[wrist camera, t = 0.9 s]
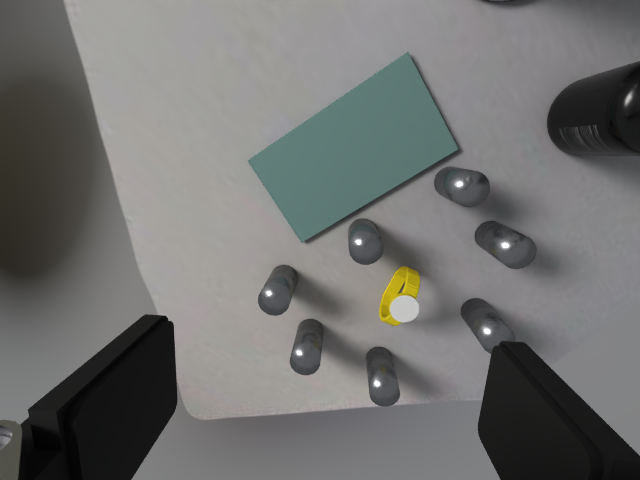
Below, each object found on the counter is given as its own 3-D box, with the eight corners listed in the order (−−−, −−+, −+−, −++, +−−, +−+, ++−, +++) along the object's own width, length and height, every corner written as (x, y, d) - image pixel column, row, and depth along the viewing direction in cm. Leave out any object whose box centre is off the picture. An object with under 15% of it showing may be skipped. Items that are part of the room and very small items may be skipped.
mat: (406, 53, 32) (407, 51, 31) (456, 149, 33) (458, 149, 33) (249, 160, 35) (247, 160, 34) (302, 241, 37) (301, 242, 36)
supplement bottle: (622, 146, 32) (776, 145, 21) (545, 161, 33) (653, 169, 22) (622, 68, 31) (789, 21, 19) (541, 86, 32) (656, 52, 20)
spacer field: (465, 155, 34) (491, 157, 28) (537, 293, 37) (574, 321, 31) (258, 277, 38) (243, 300, 33) (337, 390, 42) (336, 430, 36)
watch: (395, 257, 37) (406, 273, 31) (418, 267, 37) (434, 285, 31) (370, 304, 38) (377, 328, 32) (393, 314, 38) (403, 340, 33)
